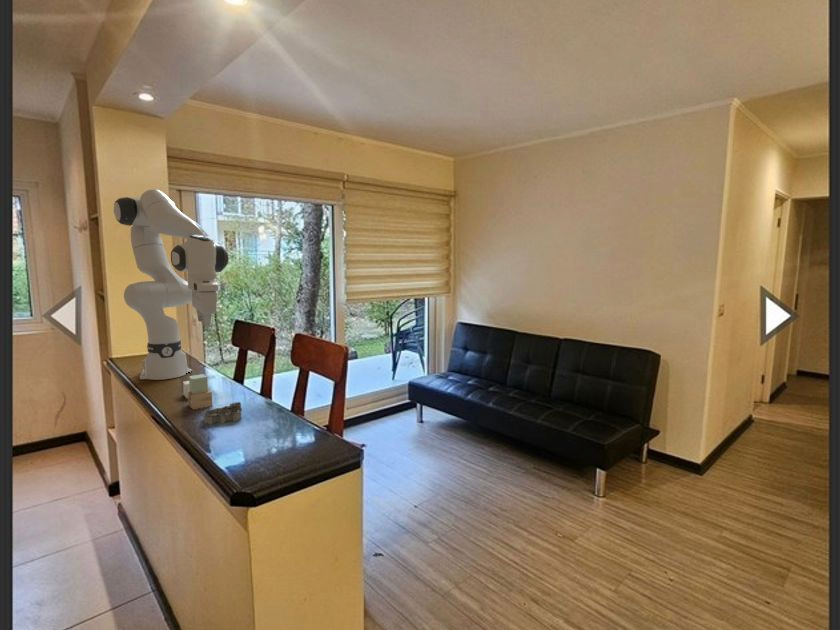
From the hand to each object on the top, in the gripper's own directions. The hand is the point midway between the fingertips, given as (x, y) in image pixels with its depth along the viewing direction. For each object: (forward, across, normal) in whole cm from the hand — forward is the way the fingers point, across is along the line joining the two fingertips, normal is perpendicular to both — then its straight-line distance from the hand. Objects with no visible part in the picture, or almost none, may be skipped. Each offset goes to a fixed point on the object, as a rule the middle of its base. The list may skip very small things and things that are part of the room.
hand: (204, 323), depth 153 cm
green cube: (+21, +8, -4) cm, 23 cm away
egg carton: (+26, +26, -1) cm, 37 cm away
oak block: (+26, +9, -4) cm, 28 cm away
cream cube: (+26, -4, -4) cm, 27 cm away
